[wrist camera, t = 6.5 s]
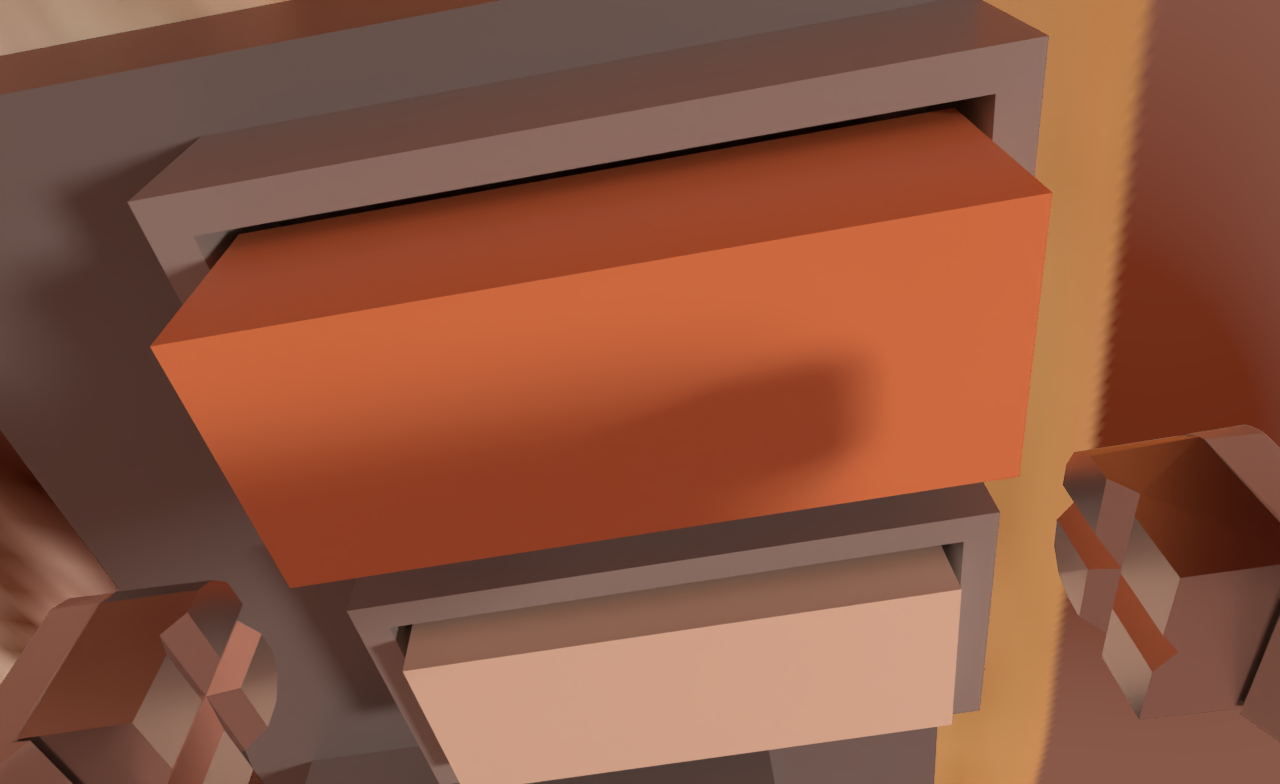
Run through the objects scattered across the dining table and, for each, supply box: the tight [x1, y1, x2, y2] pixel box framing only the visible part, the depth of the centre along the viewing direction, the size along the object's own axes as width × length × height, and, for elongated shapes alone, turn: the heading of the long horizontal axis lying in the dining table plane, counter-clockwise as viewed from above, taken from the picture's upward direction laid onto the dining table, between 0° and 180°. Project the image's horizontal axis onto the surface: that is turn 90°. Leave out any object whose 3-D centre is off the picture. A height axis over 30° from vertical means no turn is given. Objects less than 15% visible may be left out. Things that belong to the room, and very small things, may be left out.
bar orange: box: [150, 108, 1052, 588], centre depth 12 cm, size 4×10×3 cm, turn 99°
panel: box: [0, 0, 1049, 784], centre depth 21 cm, size 28×18×7 cm, turn 9°
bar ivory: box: [403, 545, 962, 784], centre depth 18 cm, size 4×10×3 cm, turn 99°
